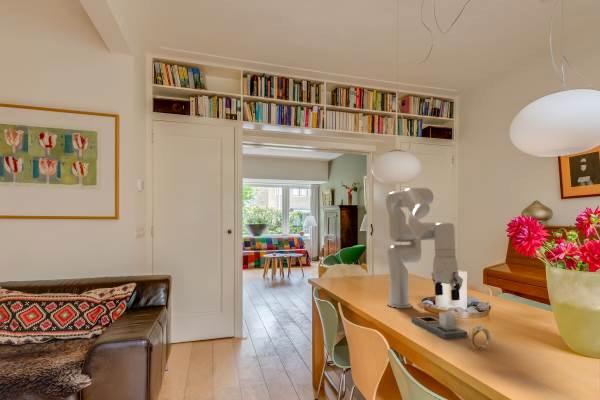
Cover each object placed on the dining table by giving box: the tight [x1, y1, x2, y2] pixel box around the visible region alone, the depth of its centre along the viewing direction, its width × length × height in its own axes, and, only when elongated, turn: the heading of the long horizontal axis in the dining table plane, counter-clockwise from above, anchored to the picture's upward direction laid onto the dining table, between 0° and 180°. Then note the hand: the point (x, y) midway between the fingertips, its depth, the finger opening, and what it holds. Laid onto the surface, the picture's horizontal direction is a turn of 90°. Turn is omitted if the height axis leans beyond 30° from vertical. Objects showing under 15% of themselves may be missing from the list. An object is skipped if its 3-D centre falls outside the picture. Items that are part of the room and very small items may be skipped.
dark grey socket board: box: [411, 315, 468, 341], centre depth 137 cm, size 22×10×2 cm, turn 14°
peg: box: [438, 311, 456, 332], centre depth 132 cm, size 4×4×8 cm
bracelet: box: [469, 324, 491, 350], centre depth 117 cm, size 7×3×8 cm, turn 94°
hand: (447, 297), depth 132 cm, fingers open, 9 cm apart
